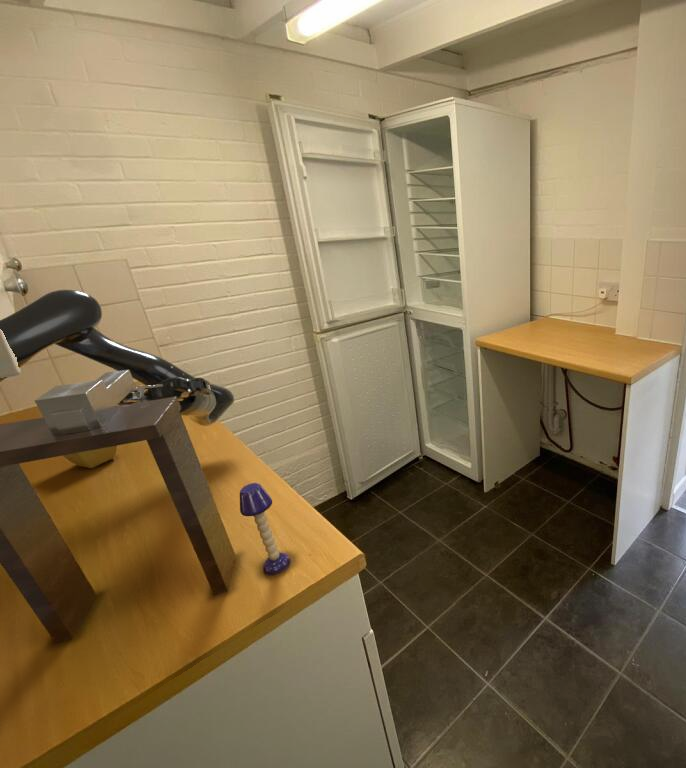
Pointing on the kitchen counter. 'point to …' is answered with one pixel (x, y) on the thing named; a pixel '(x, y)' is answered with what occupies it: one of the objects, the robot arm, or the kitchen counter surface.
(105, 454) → the flower pot
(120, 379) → the silver stand
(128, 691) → the kitchen counter surface
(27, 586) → the dark brown arch frame
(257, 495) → the toy lamp
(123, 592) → the kitchen counter surface
